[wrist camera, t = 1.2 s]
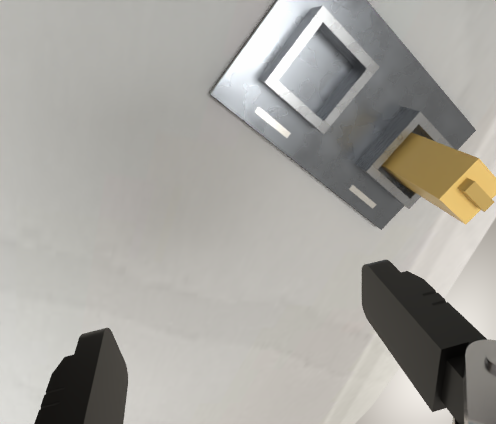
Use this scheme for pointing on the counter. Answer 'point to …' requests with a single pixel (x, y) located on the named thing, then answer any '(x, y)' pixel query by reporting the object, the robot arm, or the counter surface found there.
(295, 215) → the counter surface
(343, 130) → the panel
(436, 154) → the plug
